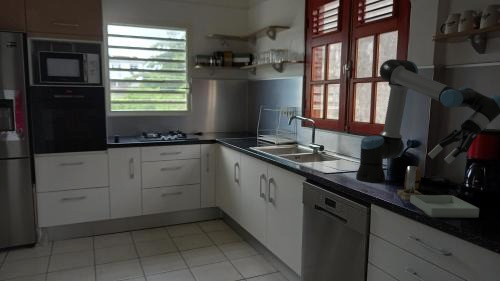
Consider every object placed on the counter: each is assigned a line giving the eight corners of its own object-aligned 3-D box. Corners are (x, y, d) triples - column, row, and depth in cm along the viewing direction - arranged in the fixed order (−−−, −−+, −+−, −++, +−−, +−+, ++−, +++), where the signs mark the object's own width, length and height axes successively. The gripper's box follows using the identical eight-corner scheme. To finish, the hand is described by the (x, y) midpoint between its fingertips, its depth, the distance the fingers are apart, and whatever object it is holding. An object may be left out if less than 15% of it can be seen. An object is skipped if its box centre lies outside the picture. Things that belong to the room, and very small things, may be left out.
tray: (409, 203, 155) (410, 195, 155) (451, 203, 156) (452, 195, 155) (431, 217, 138) (431, 208, 137) (478, 217, 138) (479, 208, 137)
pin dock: (397, 196, 166) (397, 189, 166) (414, 196, 166) (414, 189, 166) (404, 201, 158) (405, 194, 158) (422, 201, 159) (423, 194, 158)
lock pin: (404, 196, 164) (406, 165, 162) (411, 196, 164) (413, 165, 162) (407, 198, 161) (409, 167, 159) (415, 198, 161) (417, 167, 159)
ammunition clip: (417, 189, 179) (419, 165, 177) (421, 190, 177) (422, 166, 176) (403, 192, 174) (404, 167, 172) (406, 193, 172) (407, 168, 171)
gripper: (499, 133, 147) (460, 170, 148) (462, 128, 171) (429, 160, 173) (487, 120, 146) (448, 157, 147) (452, 117, 171) (418, 148, 172)
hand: (437, 158), depth 160 cm, fingers open, 13 cm apart
